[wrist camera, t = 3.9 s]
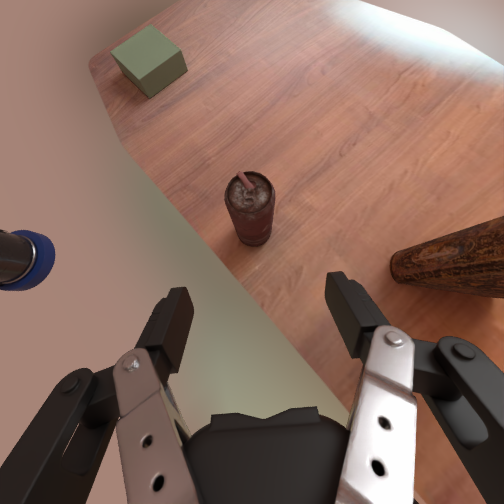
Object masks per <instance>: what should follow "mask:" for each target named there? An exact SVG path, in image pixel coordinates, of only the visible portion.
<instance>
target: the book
mask: <svg viewBox="0 0 504 504" xmlns="http://www.w3.org/2000/svg"><path fill="white" fill-rule="evenodd" d="M390 271H391V274H392V277H393V278H394V280H395V281H396V282H397V283H401V284H408V285H414V286H421V287H427V288H434V289H440V290H447V291H453V292H459V293H466V294H472V295H479V296H486V297H493V298H504V216H502V217H499V218H496V219H493V220H490V221H487V222H484V223H481V224H478V225H475V226H472V227H469V228H466V229H463V230H460V231H457V232H454V233H451V234H448V235H445V236H442V237H439V238H436V239H433V240H431V241H428V242H425V243H422V244H419V245H416V246H413V247H410V248H407V249H404V250H401V251H398V252H396V253H395V254H394V255H393V256H392V258H391V262H390Z"/></svg>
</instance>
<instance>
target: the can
mask: <svg viewBox="0 0 504 504" xmlns="http://www.w3.org/2000/svg"><path fill="white" fill-rule="evenodd" d="M224 201H225V204H226V207H227V209H228V212H229V214H230V217H231V219H232V222H233V224H234V227H235V229H236V231H237V234H238V236H239V238H240V240H241V241H242V242H243V243H245V244H246V245H249V246H259V245H262V244H263V243H265V242H266V241H267V240H268V239H269V237H270V234H271V230H272V222H273V214H274V206H275V190H274V187H273V185H272V184H271V182H270V181H269V180H268V179H267V178H266V177H265V176H264V175H262V174H260V173H258V172H254V171H248V172H241V171H239V172H238V173H237V175H236V176H235V177H233V178H232V180H231V181H230V182H229V183H228V186H227V188H226V191H225V199H224Z"/></svg>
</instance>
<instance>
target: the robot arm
mask: <svg viewBox="0 0 504 504" xmlns="http://www.w3.org/2000/svg"><path fill="white" fill-rule="evenodd" d="M37 258H38V249H37V246H36V244H35V242H34V241H33V240H32V239H30V238H28V237H25V236H21V235H16V234H11V233H7V232H3V230H0V287H2V286H3V285H5V284H11V283H15V282H18V281H20V280H22V279H23V278H25V277H26V276H27V275H28V274H29V273H30V272H31V271H32V270H33V268H34V266H35V264H36V262H37ZM325 300H326V303H327V306H328V308H329V310H330V312H331V314H332V316H333V319H334V321H335V323H336V325H337V327H338V330H339V332H340V334H341V336H342V338H343V340H344V343H345V345H346V347H347V349H348V351H349V354H350V356H351V358H352V359H354V358H360V359H361V361H362V363H363V366H362V369H361V373H360V377H359V381H358V385H357V389H356V393H355V397H354V401H353V404H352V408H351V411H350V415H349V418H348V422H347V425H346V428H345V427H344V426H342V425H340V424H339V423H338V422H336V421H334V420H332V419H331V418H328V417H326V416H323V415H319V414H318V409H317V406H315V407H303V408H291V409H288V410H286V411H283V412H281V413H279V414H276V415H274V416H272V417H269V418H266V419H260V418H256V417H252V416H248V415H244V414H240V413H228V414H215V415H211V423H210V424H208V425H206V426H204V427H203V428H201V429H200V430H198V431H197V432H196V433H194V434H193V435H191V433H190V431H189V429H188V427H187V425H186V423H185V421H184V420H183V417H182V415H181V413H180V410H179V408H178V405H177V403H176V401H175V398H174V396H173V393H172V391H171V388H170V386H169V384H168V382H167V381H168V378H169V375H170V374H172V373H178V371H179V367H180V363H181V360H182V356H183V353H184V349H185V345H186V342H187V338H188V334H189V331H190V327H191V323H192V319H193V315H194V307H193V303H192V301H191V298H190V296H189V293H188V290H187V288H186V287H177V288H171V290H170V292H169V294H168V296H167V298H162V299H161V300H160V301H159V302H158V304H156V306H155V308H154V310H153V312H152V315H151V316H150V318H149V320H148V322H147V324H146V326H145V328H144V330H143V332H142V334H141V336H140V338H139V340H138V342H137V344H136V346H135V348H134V349H132V350H130V351H128V352H127V353H125V354H124V355H123V356H122V357H121V358H120V359H119V360H118V361H117V363H116V364H115V365H114V366H111V367H109V368H106V369H104V370H101V371H98V372H96V373H93V372H92V371H91V370H90V369H88V368H81V369H78V370H75V371H73V372H71V373H70V374H68V375H67V376H65V377H64V378H63V379H62V380H61V381H60V382H59V383H58V384H57V385H56V386H55V388H54V389H53V391H52V392H51V394H50V395H49V397H48V398H47V400H46V401H45V402H44V404H43V405H42V407H41V408H40V410H39V411H38V413H37V414H36V416H35V417H34V419H33V420H32V422H31V423H30V425H29V426H28V428H27V429H26V430H25V432H24V433H23V435H22V436H21V438H20V439H19V441H18V442H17V444H16V445H15V447H14V448H13V450H12V452H11V453H10V454H9V456H8V457H7V458H6V460H5V461H4V463H3V464H2V466H1V468H0V504H86V501H87V498H88V496H89V493H90V491H91V488H92V486H93V483H94V480H95V478H96V475H97V472H98V470H99V467H100V465H101V462H102V459H103V457H104V455H105V452H106V449H107V447H108V444H109V442H110V439H111V436H112V434H113V431H114V429H115V426H116V433H117V439H118V446H119V452H120V458H121V464H122V471H123V477H124V483H125V489H126V495H127V502H128V504H419V503H418V502H417V501H416V500H415V499H414V498H413V489H414V465H415V441H416V418H417V400H416V397H415V396H413V394H412V391H413V392H417V393H420V394H421V395H422V396H423V398H424V400H425V401H426V403H427V405H428V406H429V408H430V410H431V411H432V413H433V415H434V416H435V418H436V420H437V421H438V423H439V425H440V426H441V428H442V430H443V431H444V433H445V435H446V436H447V438H448V440H449V441H450V443H451V445H452V446H453V448H454V450H455V451H456V453H457V455H458V456H459V458H460V460H461V461H462V463H463V465H464V466H465V468H466V470H467V471H468V473H469V475H470V476H471V478H472V480H473V481H474V483H475V485H476V486H477V488H478V490H479V491H480V493H481V495H482V496H483V498H484V500H485V501H486V503H487V504H504V373H503V372H502V371H501V370H500V369H499V368H498V367H497V366H496V365H495V364H494V363H493V362H492V361H491V360H490V359H489V358H488V357H487V356H486V355H485V354H484V352H482V351H481V350H480V349H479V348H478V347H476V346H475V345H473V344H472V343H470V342H468V341H466V340H464V339H461V338H458V337H453V336H446V337H442V338H441V339H440V340H439V341H438V343H433V342H427V341H422V340H417V339H412V338H410V336H409V335H408V334H406V333H405V332H404V331H402V330H400V329H399V328H396V327H393V326H391V324H390V323H389V322H388V320H387V319H386V318H385V316H384V315H383V314H382V312H381V311H380V309H379V308H378V307H377V305H376V304H375V303H374V301H372V299H371V297H370V296H369V294H367V292H366V290H365V289H364V288H363V286H362V285H361V284H359V283H358V282H356V281H355V280H348V278H347V277H346V275H345V274H344V273H343V272H342V271H339V272H329V273H327V277H326V286H325ZM119 417H120V419H119V420H118V418H119ZM78 423H79V426H78V427H77V425H78ZM76 427H77V429H76ZM75 429H76V431H75ZM74 431H75V433H74ZM73 433H74V435H73ZM72 435H73V437H72ZM71 437H72V439H71ZM70 439H71V441H70ZM69 441H70V443H69ZM68 443H69V445H68ZM67 445H68V447H67ZM66 447H67V449H66ZM65 449H66V451H65ZM64 451H65V452H64ZM63 453H64V454H63Z"/></svg>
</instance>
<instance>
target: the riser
mask: <svg viewBox="0 0 504 504" xmlns="http://www.w3.org/2000/svg"><path fill="white" fill-rule="evenodd" d="M110 53H111V54H112V56H113V58H114V59H115V61H116V62H117V64H118V66H119V67H120V69H121V70H122V72H123V73H124V74H125V75H126V76H127V77H128V78H129V79H130V80H131V81H132V82H133V83H134V84H135V85H136V86H137V87H138V88H139V89H140V90H141V91H142V92H143V93H144V94H145V95H147V96H148V97H149V98H151V97H153V96H154V95H155V94H157V93H158V92H159V91H161V90H162V89H163V88H165V87H166V86H168V85H169V84H170V83H172V82H173V81H174V80H176V79H177V78H178V77H180V76H181V75H182V74H184V73H185V72H186V71H188V70H187V67H186V64H185V61H184V57H183V54H182V51H181V49H180V48H178V47H177V46H176V45H175V44H174V43H172V42H171V41H170V40H169V39H168V38H167V37H165V36H164V35H163V34H162V33H161V32H160V31H158V30H157V29H156V28H155V27H154V26H152V25H151V24H150V25H148V26H147V27H145V28H144V29H143V30H141V31H140V32H138V33H137V34H135V35H134V36H132V37H131V38H129V39H128V40H127V41H125V42H124V43H122V44H121V45H119V46H118V47H116V48H115V49H113V50H112V51H111V52H110Z"/></svg>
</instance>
